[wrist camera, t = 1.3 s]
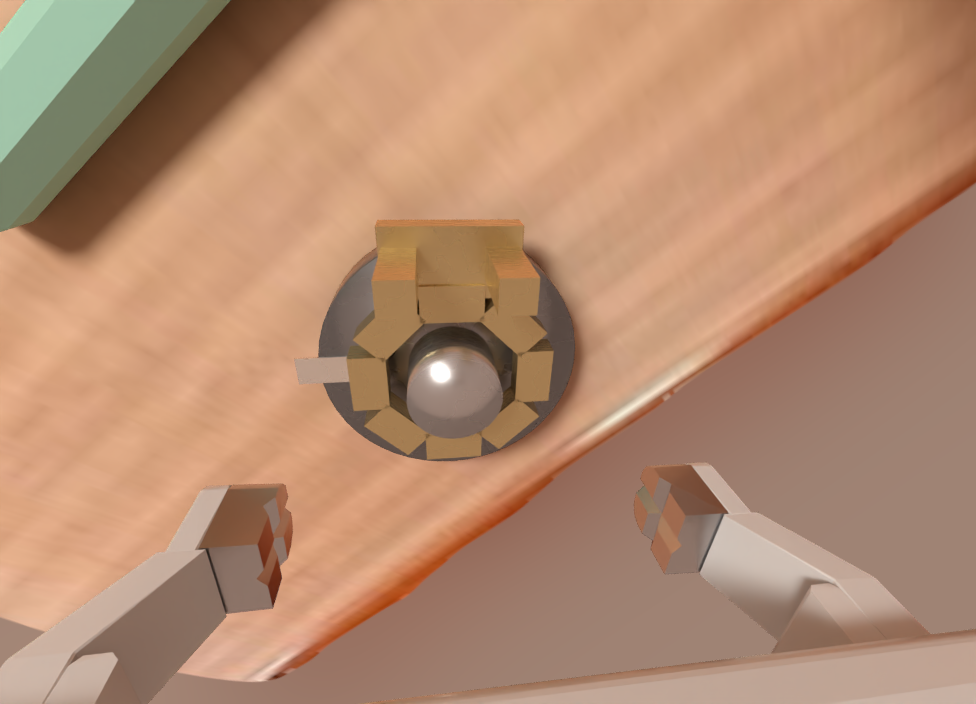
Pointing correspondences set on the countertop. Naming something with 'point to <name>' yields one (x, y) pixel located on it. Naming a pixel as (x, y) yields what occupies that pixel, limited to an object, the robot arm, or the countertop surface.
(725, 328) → the countertop surface
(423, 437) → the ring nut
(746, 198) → the countertop surface
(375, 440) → the grey round piece
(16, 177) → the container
